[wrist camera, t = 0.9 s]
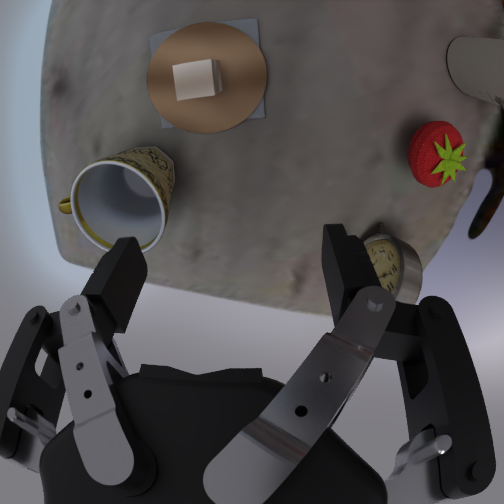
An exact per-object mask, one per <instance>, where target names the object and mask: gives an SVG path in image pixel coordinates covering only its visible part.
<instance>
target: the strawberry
mask: <svg viewBox="0 0 504 504" xmlns="http://www.w3.org/2000/svg"><path fill="white" fill-rule="evenodd" d="M465 144H466V143H463V140H462V137H461V135H460V133H459V132H458V130H457V129H456V128H455V127H454V126H453V125H452V124H450V123H448V122H445V121H431V122H428V123H426V124H424V125H422V126H421V127H420V128H419V129H418V130H417V131H416V132H415V134H414V135H413V137H412V139H411V141H410V145H409V149H408V162H409V165H410V168H411V171H412V173H413V176H414V177H415V179H416V180H417V181H418V182H419V183H421V184H423V185H426V186H428V187H438V186H441V185H443V184H444V183H446V182H448V181H449V180H450V179H451V178H452V179H453V180H454V181H455V174H456V172H457V171H458V170H464V171H466V170H465V168H464V167H463V166H462V165H461V161H463V160H464V159H465V158H467V156H463V148H464V146H465Z"/></svg>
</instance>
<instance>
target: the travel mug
mask: <svg viewBox="0 0 504 504" xmlns="http://www.w3.org/2000/svg"><path fill="white" fill-rule="evenodd" d="M447 63H448V68H449V72H450V75H451V77H452V79H453V81H454V83H455V84H456V86H457V87H458V88H459V89H460V90H461V91H462V92H464V93H465V94H467V95H469V96H472V97H475V98H478V99H481V100H484V101H486V102H489V103H492V104H494V105H497V106H499V107H502V108H504V40H501V39H492V38H481V37H458V38H456V39H455V40H453V41H452V43H451V44H450V46H449V49H448V54H447Z"/></svg>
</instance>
